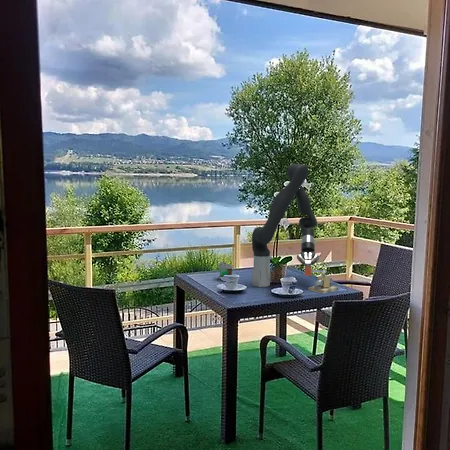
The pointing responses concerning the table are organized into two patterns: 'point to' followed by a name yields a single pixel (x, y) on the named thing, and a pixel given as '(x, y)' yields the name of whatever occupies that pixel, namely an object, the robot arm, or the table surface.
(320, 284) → the valve body
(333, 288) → the mounting board
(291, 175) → the robot arm
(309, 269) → the valve lever
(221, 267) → the food container
